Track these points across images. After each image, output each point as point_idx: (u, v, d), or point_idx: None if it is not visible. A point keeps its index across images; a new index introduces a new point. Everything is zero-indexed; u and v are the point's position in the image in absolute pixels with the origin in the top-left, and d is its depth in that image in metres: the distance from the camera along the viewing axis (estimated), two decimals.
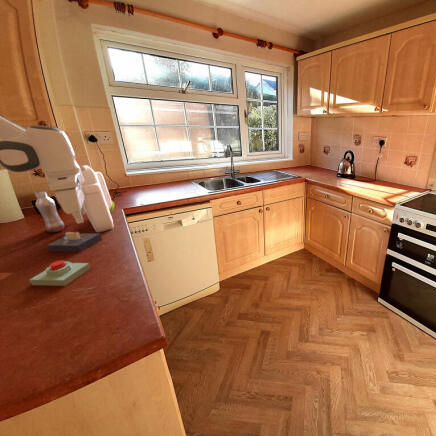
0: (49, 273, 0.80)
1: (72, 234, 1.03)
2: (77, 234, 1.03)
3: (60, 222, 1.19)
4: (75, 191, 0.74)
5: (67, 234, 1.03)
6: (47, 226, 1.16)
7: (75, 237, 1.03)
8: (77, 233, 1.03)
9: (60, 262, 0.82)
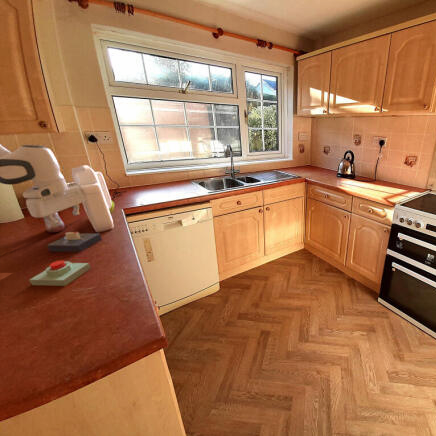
0: (49, 273, 0.80)
1: (72, 234, 1.03)
2: (77, 234, 1.03)
3: (60, 222, 1.19)
4: (37, 201, 0.89)
5: (67, 234, 1.03)
6: (47, 226, 1.16)
7: (75, 237, 1.03)
8: (77, 233, 1.03)
9: (60, 262, 0.82)
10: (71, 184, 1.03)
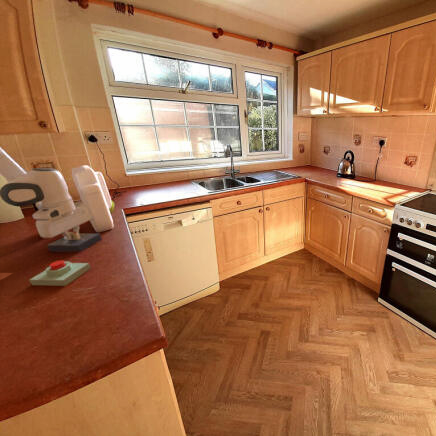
0: (49, 273, 0.80)
1: (72, 234, 1.03)
2: (77, 234, 1.03)
3: None
4: (46, 222, 0.92)
5: None
6: None
7: (75, 237, 1.03)
8: (77, 233, 1.03)
9: (60, 262, 0.82)
10: (78, 203, 1.06)
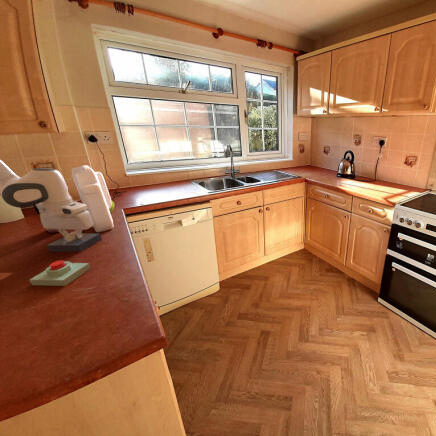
0: (49, 273, 0.80)
1: (75, 232, 1.04)
2: None
3: None
4: (87, 211, 1.01)
5: (70, 235, 1.02)
6: None
7: None
8: None
9: (60, 262, 0.82)
10: None
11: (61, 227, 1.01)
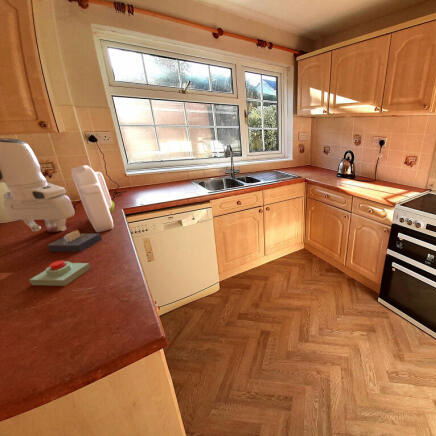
0: (49, 273, 0.80)
1: (75, 232, 1.04)
2: None
3: None
4: None
5: (70, 235, 1.02)
6: (47, 226, 1.16)
7: (78, 235, 1.06)
8: None
9: (60, 262, 0.82)
10: None
11: (32, 217, 0.79)
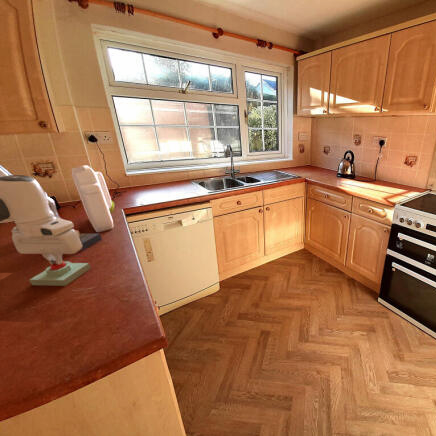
0: (49, 273, 0.80)
1: None
2: None
3: None
4: (74, 231, 0.79)
5: None
6: None
7: (78, 235, 1.06)
8: None
9: None
10: None
11: (40, 251, 0.78)
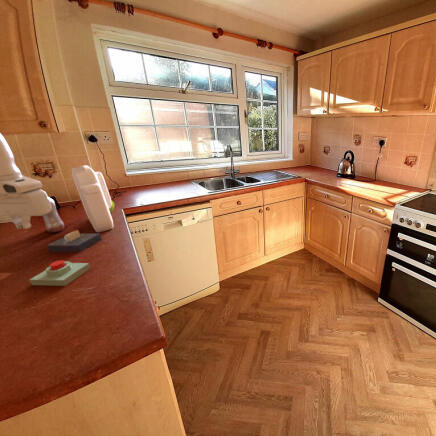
0: (49, 273, 0.80)
1: (75, 232, 1.04)
2: None
3: (60, 222, 1.19)
4: (43, 191, 0.73)
5: (70, 235, 1.02)
6: (47, 226, 1.16)
7: (78, 235, 1.06)
8: None
9: (60, 262, 0.82)
10: None
11: (5, 212, 0.72)
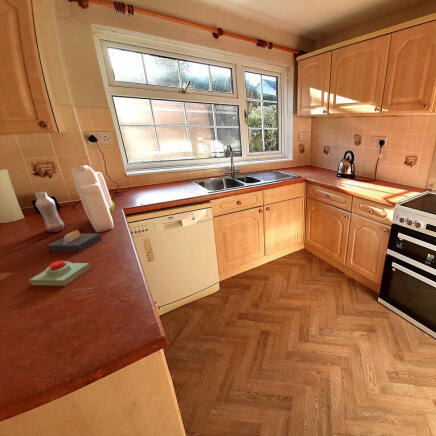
0: (49, 273, 0.80)
1: (75, 232, 1.04)
2: None
3: (60, 222, 1.19)
4: None
5: (70, 235, 1.02)
6: (47, 226, 1.16)
7: (78, 235, 1.06)
8: None
9: (60, 262, 0.82)
10: None
11: None
